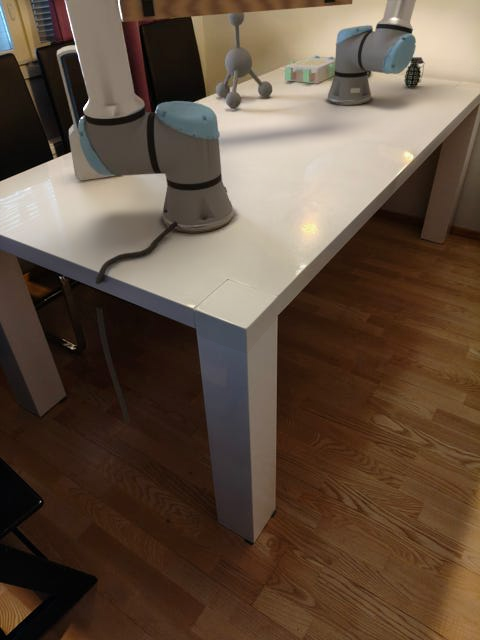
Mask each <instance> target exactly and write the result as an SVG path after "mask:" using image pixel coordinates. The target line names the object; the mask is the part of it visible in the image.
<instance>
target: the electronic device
mask: <svg viewBox="0 0 480 640" xmlns="http://www.w3.org/2000/svg"><path fill="white" fill-rule="evenodd" d="M70 56H71V57H72V56H78V53H77V49H76V45H75V44H72V45H66V46H62V47H61V48H59V49H58V50H56V58H57V63H58V67H59V71H60V75H61V78H62V82H63V87H64V91H65V94H66V95H65V96H66V99H67V102H68V106H69V112H70V115H71V118H72V123H73V124H72V125H71V126H70V127H69V129H68V139H69V145H70V152H71V153H70V154H71V157H72V158H71V160H72V165H73V171H74V177H75V178H77V179H78V180H79V181H89V180H96V179H102V178H108V177H115V176H114V175H100V174H98V173H97V172H96V171H94V170H93V169H92V168H91V167H90V165H89V164H88V162H87V160H86V158H85V156H84V153H83V151H82V148H81V144H80V139H79V138H80V135H79V132H78V125H79V121H80V117H79V112H78V108H77V105H76V101H75V96H74V93H73V89H72V84H71V80H70V79H71V78H70V75H69V70H68V67H67V62H66V58H67V57H70Z"/></svg>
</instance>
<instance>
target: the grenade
mask: <svg viewBox="0 0 480 640" xmlns="http://www.w3.org/2000/svg"><path fill="white" fill-rule="evenodd" d="M421 64H422V66H420V65H421ZM425 64H426V63H425V61H424V60H423V58H422V56H421V57H420V56H416V57H415V56H413V57H412V60H411V61H410V63H409V65H408V66H407V67H406V68H407V69H406V71H405V74H404V85H405V86H406V88H408V89H412V88H413V89H414V88H415V87H417V86H418V85H419V84H420V82H421V81H422V78H423V74H424V71H421V68H422V70H424V69H425Z"/></svg>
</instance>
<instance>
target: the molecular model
mask: <svg viewBox="0 0 480 640" xmlns="http://www.w3.org/2000/svg"><path fill="white" fill-rule="evenodd" d="M227 18H228V22H229V24H230V25H232V26H234V41H235V42H234V43H235V44H234V45H235V47H233V48H232V49H230V50H229V51H228V52H227V54H226V56H225V59H224V66H225V70H226V71H227V74H226V77H225V79H224V81H221V82H219V83H218V84H216V86H215V93H216V95H217V96H218V97H219V98H223V99H224V98H225V103H226V105H227V107H228V108H231V109H236V108H238V107H240V105H241V103H242V97H241V94H240V93H239V92H237V89H238V80H239V79H241V78H244V77H246V76H247V75H248V74H249V75H250V77H251V78H252V79H253V80H254V81H255V83H257V85H258V87H257V92H258V94H259V96H260V97H262V98H268V97H270V96H271V95H272V93H273V86H272V84H271V83H270V81H266V80H265V81H264V80H263V81H262V80H261V79H260V78H259V77H258V76H257V74H256V73H255V72H254V71H253V70H252V68H253V67H252V66H253V59H252V56H251V54H250V52H249V51H248V50H247V49H246V48H244V47H241V45H240V44H241V43H240V41H241V40H240V25H242V24H243V22H244V20H245V12H244V13H231V14H227ZM231 76H232V77H233V78H232V79H233V80H232V86H231V88H230V85H229V81H230V79H231Z"/></svg>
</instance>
